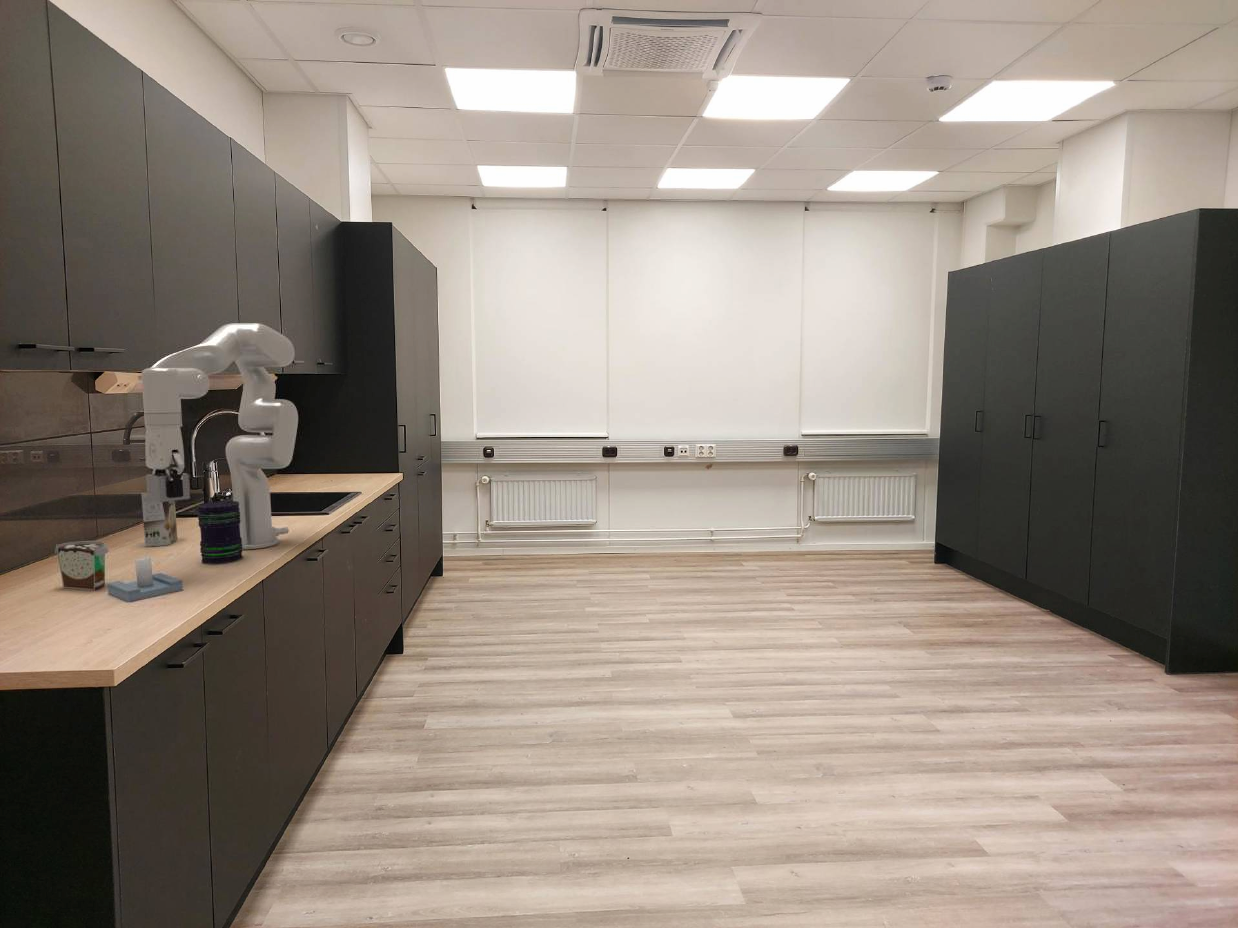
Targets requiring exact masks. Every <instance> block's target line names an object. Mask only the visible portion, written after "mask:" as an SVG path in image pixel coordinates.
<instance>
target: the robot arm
mask: <svg viewBox="0 0 1238 928" xmlns="http://www.w3.org/2000/svg"><path fill="white" fill-rule="evenodd" d="M295 352H296V351H295V348H294V345H293V343H292V342H291V340H290V339H288V337H286V336H285V335H283V334H281V333H280V332H278V331H276V330H275V329H273V328H271V327H269V325H268V326H267V325H265V324H262V323H258V322H252V323H251V322H250V323H249V322H245V323H244V322H240V323H239V322H237V323H235V322H234V323H227V324H223V325H222V326H220V327H219V328H218V329H216V330H215V331H214V332H213V333H212V334H211V335H209V336H208V337H206V338H205V339H204V340H203V341H202V342H201V343H199V344H197V345H193V346H191V347H188V348H186V349H183V350H181V351H178V352H174V353H171V354H168V355H166V356H165V357H163V358H161V359H159V360H158V361H157V362H155V363H154V364H153V365H151V367H147V368H144V369H143V370H142V371H141V387H142V401H143V417H144V427H145V441H144V442H145V444H144V446H145V447H144V448H145V450H144V451H145V466H146V467H147V468H148V469H151V472H152V473H151V474H160V473H167V476H168V479H169V481H167V491H168V498H176V497H183V482H182V480H183V475H182V474H183V473H184V468H185V454H184V453H185V452H184V442H183V437H182V436H183V435H182V431H181V430H182V429H181V427H183V420H182V419H183V417H182V416H183V415H182V402H181V400H184V399H185V400H188V399H189V400H191V399H199V398H201V397H203V396H205V395H206V394H207V393H208V392H209V390H210V385H211V383H210V378H209V376H211V375H214V374H218V373H222V372H224V371H225V370H226V369H227V368H228V367H229V366H231V365H232V364H233V363H235V364H236V366H237V368H238V370H239V373H240V375H241V377H242V380H243V386H242V388H243V389H242V394H241V400H240V406H239V410H238V419H237V422H238V425H239V427H240V429H241V430H242V431H245V432H248V433H272V434H269V435H268V434H267V435H265V434H263V435H262V434H244V435H243V434H242V435H236V436H234V437H232V438H230V439H229V440H228V442H227V443H226V446H225V458H226V460H227V464H228V468H229V472H230V477H231V478H230V480H231V487H232V488H231V489H232V490H231V491H232V501H237V502H239V509H240V511H239V512H240V520H241V521H240V522H241V523H240V537H241V538H242V546H243V548H242V549H241V550H256V549H263V548H265V549H266V548H269V547H273V546H276V545H278V544H279V542H280V540H279V538H278V537H279V536H280V535H286V534H289V532H290V531H289V530H290V529H289V528H288V527H287V526H285V527H281V528H279V527H275V526H273V523H272V508H271V507H272V506H271V492H270V491H271V490H270V489H271V488H270V487H271V486H270V482H269V480H268V477H267V476H266V474H265V473H264V471H263V470H267V469H268V470H270V469H271V470H278V469H284V468H286V467H288V466H289V465H290V464H291V462H292V460H293V455H294V450H295V444H296V438H297V433H298V432H297V430H298V426H299V425H298V424H299V414H298V410H297V407H296V406H295V404H294V403H293V402H292V401H290V400H288V399H280V398H275V397H276V387H277V386H276V382H275V380H274V379H273V377H272V376H271V375H270V373H269V372H268V371H267V370H266V368H281V367H282V368H284V367H287V366H289V365H291V364H292V363H293V362H294V359H295ZM171 472H173V473H171Z"/></svg>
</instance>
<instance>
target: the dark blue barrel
mask: <svg viewBox="0 0 1238 928" xmlns="http://www.w3.org/2000/svg"><path fill="white" fill-rule="evenodd" d="M197 509H198V511H197V513H198V515H197V520H198V527H199V530H200V531H199V532H200V542H199V545H200V555H201V563H202V564H204V565H223V564H230V563H235V562H238V561H241V560H242V559H243V557H244V556H243V549H242V548H243V546H242V538H241V537H240V523H241V522H240V521H241V520H240V512H239V511H240V509H239V502H237V501H233V500H220V501H211V502H203V503H200V504H197Z"/></svg>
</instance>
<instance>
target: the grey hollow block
mask: <svg viewBox="0 0 1238 928" xmlns="http://www.w3.org/2000/svg"><path fill="white" fill-rule="evenodd" d="M171 473H173V471H171ZM182 475H183V480H182V482H183V497H176V498H168V491H167V481H169V479H168V476H167V473H160V474H152V473H149V474H145V480H146V489H147V497H148V500H151V501H156V502H166V501H175V502H176V501H181V500H190V499H191V496H190V495H191V493H190V481H189V473H185V472H183V474H182Z"/></svg>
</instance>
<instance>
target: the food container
mask: <svg viewBox="0 0 1238 928" xmlns="http://www.w3.org/2000/svg"><path fill="white" fill-rule="evenodd" d="M55 546H56V547H55V549H54V550H55V551H54V554H57V558H58V559H57V560H58V564H59V571H60V576H61V582H62V583H61V584H62V588H64V589H74V590H75V589H76V590H84V591H85V590H86V591H97V590H100V589H102V588H104V587H105V586H106V581H105V580H106V579H105V578H106V572H105V571H106V554H108V552H109V550H108V547H107V545H106V543H105V542H104V541H100V540H82V541H72V542H65V543H61V544H56V545H55Z"/></svg>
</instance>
